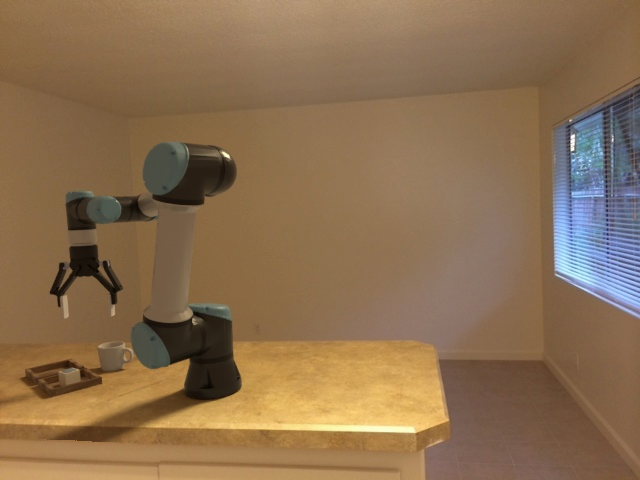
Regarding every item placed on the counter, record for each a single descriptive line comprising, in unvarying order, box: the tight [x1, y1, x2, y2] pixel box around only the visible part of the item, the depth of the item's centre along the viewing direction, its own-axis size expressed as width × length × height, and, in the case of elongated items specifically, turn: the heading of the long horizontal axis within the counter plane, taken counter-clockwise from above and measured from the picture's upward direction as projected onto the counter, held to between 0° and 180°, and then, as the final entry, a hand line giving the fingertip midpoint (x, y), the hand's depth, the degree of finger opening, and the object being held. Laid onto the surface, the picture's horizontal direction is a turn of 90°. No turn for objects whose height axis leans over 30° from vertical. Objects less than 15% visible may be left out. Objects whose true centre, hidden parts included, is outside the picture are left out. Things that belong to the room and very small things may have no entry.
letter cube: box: [58, 368, 81, 386], centre depth 140 cm, size 4×4×4 cm
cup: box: [96, 341, 135, 373], centre depth 153 cm, size 11×8×8 cm
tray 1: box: [24, 358, 86, 386], centre depth 150 cm, size 13×13×2 cm
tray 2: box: [37, 367, 103, 398], centre depth 140 cm, size 13×13×2 cm
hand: (88, 316), depth 145 cm, fingers open, 13 cm apart
